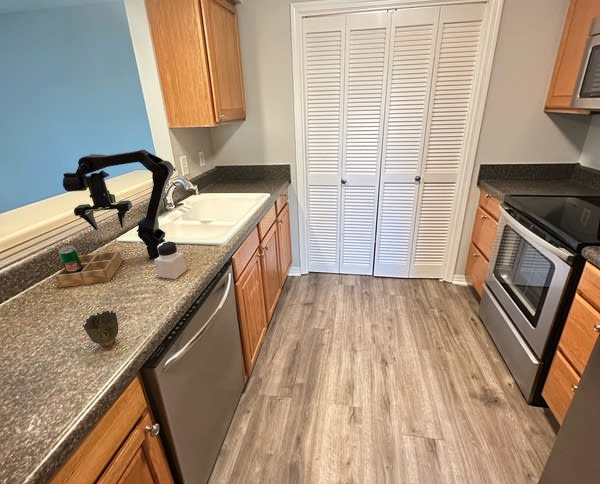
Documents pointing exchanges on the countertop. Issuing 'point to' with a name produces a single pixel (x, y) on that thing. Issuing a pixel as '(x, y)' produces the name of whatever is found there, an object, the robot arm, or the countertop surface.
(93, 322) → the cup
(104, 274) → the grid
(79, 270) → the soda can
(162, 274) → the medicine bottle
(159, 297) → the countertop surface
